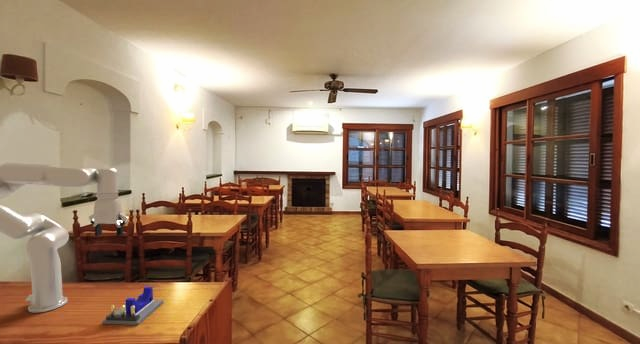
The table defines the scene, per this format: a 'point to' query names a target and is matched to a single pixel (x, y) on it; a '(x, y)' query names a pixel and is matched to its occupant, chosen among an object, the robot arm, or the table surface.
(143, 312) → the header board
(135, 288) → the table surface
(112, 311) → the brass pins
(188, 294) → the table surface
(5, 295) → the table surface
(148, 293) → the blue curved bracket
